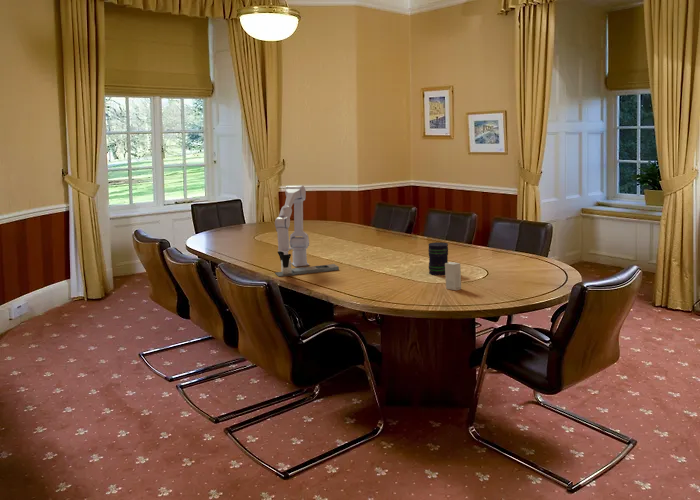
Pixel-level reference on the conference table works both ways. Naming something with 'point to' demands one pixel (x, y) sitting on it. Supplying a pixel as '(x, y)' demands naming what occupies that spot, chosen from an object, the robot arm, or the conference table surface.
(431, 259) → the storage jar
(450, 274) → the skincare box
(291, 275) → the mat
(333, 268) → the rail
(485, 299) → the conference table surface
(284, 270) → the pale grey square block
